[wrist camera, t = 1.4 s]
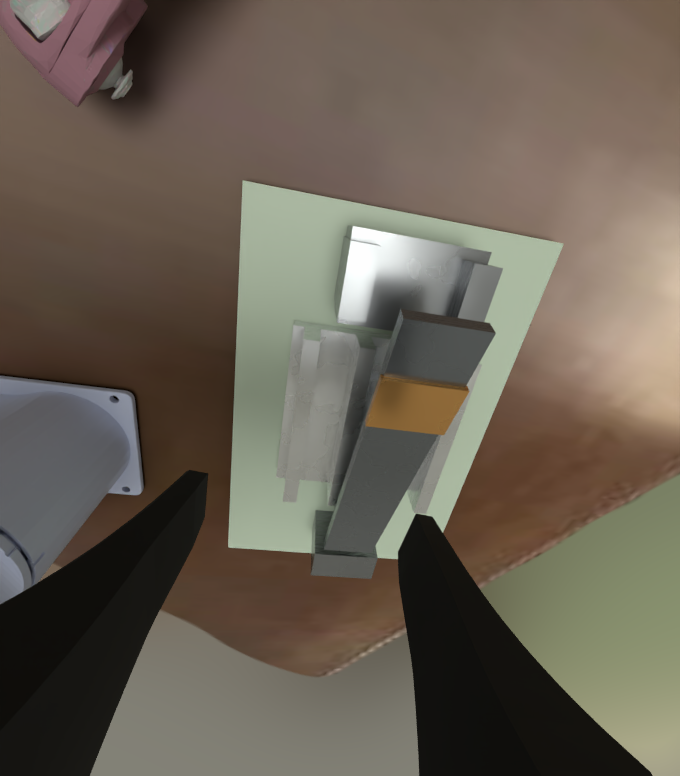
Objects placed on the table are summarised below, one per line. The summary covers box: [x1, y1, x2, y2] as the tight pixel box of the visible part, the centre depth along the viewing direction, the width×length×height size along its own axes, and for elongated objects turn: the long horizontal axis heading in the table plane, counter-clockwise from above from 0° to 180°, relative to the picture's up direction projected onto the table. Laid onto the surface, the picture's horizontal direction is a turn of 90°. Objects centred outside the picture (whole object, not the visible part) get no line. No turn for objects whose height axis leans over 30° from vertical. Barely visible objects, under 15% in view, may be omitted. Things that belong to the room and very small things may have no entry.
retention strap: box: [324, 309, 496, 553], centre depth 16 cm, size 3×16×1 cm, turn 171°
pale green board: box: [228, 181, 563, 559], centre depth 22 cm, size 16×24×1 cm, turn 170°
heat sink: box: [276, 320, 482, 514], centre depth 20 cm, size 10×10×3 cm
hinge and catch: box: [311, 225, 503, 579], centre depth 19 cm, size 6×20×4 cm, turn 170°
